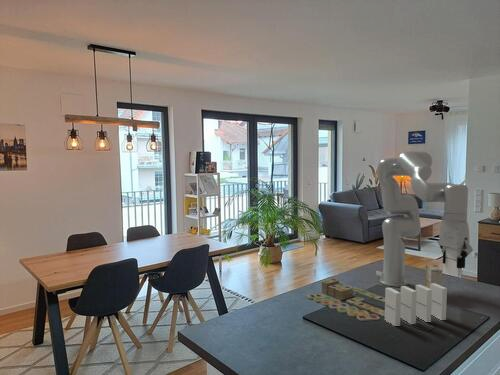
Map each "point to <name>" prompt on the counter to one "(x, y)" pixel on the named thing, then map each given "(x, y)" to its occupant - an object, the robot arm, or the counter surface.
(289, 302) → the counter surface
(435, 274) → the supplement box
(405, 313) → the domino
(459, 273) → the domino
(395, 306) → the domino
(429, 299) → the domino
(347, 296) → the pile of dominoes
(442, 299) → the domino
